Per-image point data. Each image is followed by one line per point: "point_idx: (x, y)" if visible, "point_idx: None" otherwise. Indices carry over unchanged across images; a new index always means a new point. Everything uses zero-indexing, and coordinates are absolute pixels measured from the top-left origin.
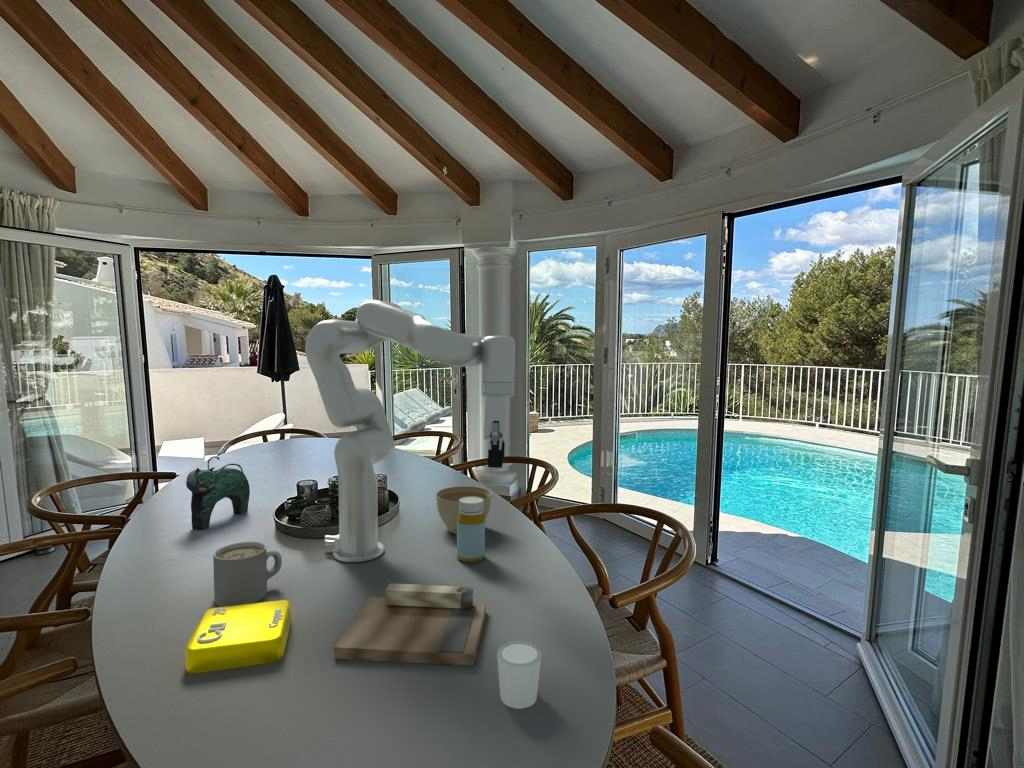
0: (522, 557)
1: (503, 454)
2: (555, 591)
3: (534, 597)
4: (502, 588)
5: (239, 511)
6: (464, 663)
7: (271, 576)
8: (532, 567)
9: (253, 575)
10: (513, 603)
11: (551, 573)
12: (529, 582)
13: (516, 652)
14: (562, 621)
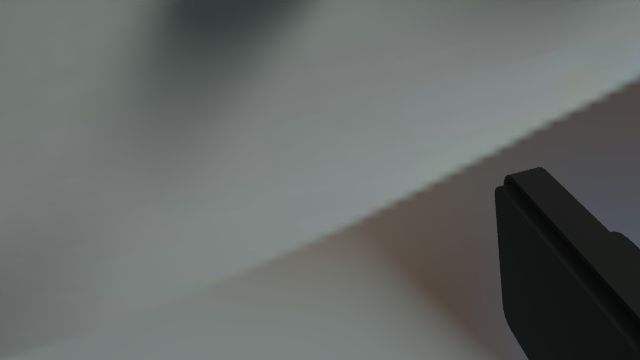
0: (416, 66)
1: (527, 349)
2: (179, 232)
3: (110, 187)
4: (124, 73)
5: None
6: None
7: None
8: (334, 124)
9: None
10: (36, 139)
11: (304, 193)
12: (210, 146)
13: None
14: (9, 285)
